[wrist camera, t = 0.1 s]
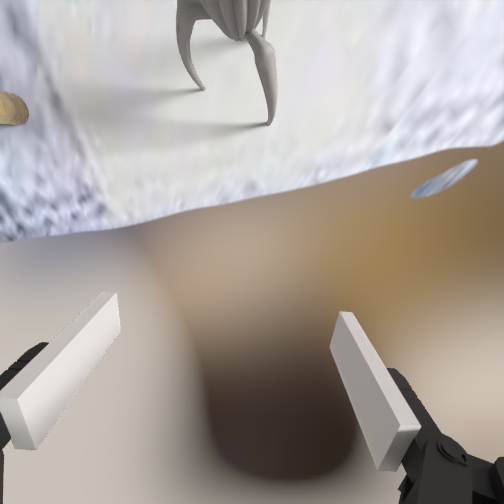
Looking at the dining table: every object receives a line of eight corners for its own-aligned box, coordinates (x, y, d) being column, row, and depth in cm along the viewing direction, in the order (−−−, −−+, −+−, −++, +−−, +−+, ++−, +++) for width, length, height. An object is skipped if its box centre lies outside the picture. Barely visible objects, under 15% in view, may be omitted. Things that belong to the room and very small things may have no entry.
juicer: (240, 147, 37) (206, 151, 9) (201, 88, 34) (-11, -153, 7) (300, 101, 35) (489, -73, 7) (264, 33, 32) (345, -692, 4)
